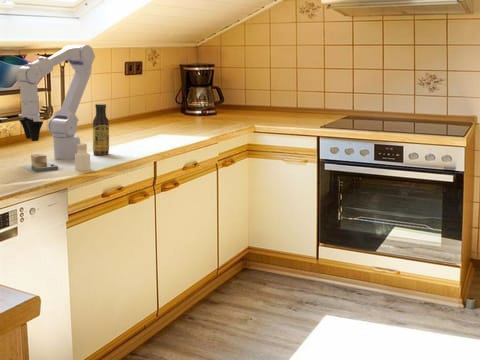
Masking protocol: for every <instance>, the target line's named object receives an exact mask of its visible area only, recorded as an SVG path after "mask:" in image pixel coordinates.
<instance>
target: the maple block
mask: <svg viewBox="0 0 480 360" xmlns="http://www.w3.org/2000/svg"><path fill="white" fill-rule="evenodd" d="M30 158H31V161H30V162H31V165H32V166H35V167H37V168H42V167H47V163H48V162H47V161H48V159H47V158H48V157H47V155H46V154H44V153H35V154H34V153H33V154H31V155H30Z"/></svg>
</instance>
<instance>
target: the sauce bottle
mask: <svg viewBox="0 0 480 360" xmlns="http://www.w3.org/2000/svg"><path fill="white" fill-rule="evenodd" d="M106 112H107V104H106V103H95V117H94V119H93V120H92V151H93V155H95V156H107V155H108V154H109V153H110V151H109V150H110V125H109V123H110V121H109V119H108V117H107V113H106Z"/></svg>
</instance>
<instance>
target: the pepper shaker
mask: <svg viewBox="0 0 480 360" xmlns="http://www.w3.org/2000/svg"><path fill="white" fill-rule="evenodd" d="M87 145H88V143H80V144H77V150H78V153H77V154H75V158H74V169H75V171H79V172H84V171H90V170H91V168H92V167H91V154H90V153H88V149H87V148H88V147H87Z"/></svg>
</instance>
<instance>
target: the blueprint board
mask: <svg viewBox="0 0 480 360" xmlns="http://www.w3.org/2000/svg"><path fill="white" fill-rule="evenodd" d="M21 167H22V168H24V169H26V170H28V171H29V172H30V173H32V174H41V173H49V172H56V171H57V172H58V171H59V172H60V171H63V169H62V168H60V167H59V166H58V165H56V164H54V163H51V162H47V167H42V168H37V167H35V166H32V164H26V165H21Z"/></svg>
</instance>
